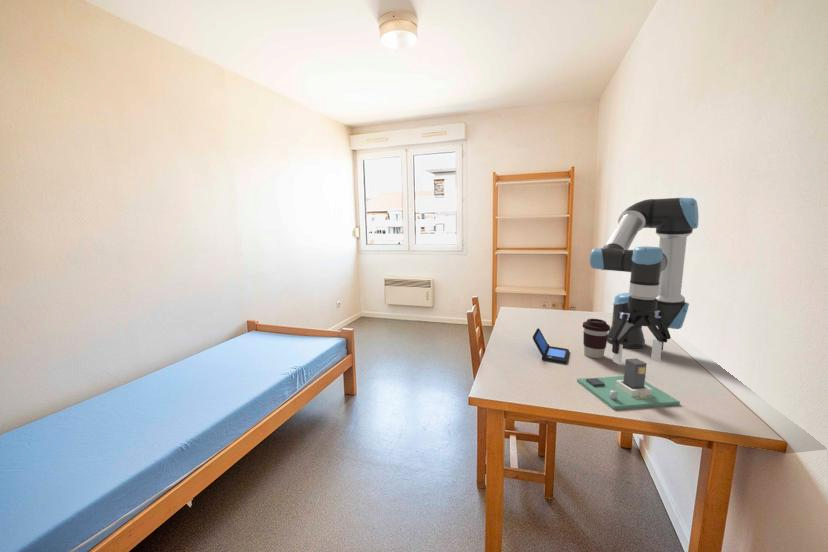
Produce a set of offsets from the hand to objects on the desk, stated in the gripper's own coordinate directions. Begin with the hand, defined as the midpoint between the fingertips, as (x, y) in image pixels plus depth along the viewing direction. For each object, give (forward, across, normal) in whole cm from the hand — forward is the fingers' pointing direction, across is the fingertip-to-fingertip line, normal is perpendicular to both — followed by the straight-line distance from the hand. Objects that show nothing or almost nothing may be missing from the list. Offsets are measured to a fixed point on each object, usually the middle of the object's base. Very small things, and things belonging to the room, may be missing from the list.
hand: (636, 361), depth 108 cm
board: (+11, +2, -1) cm, 11 cm away
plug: (+10, 0, 0) cm, 10 cm away
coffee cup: (+12, -8, -31) cm, 34 cm away
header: (+10, 0, +1) cm, 10 cm away
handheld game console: (+12, +10, -34) cm, 37 cm away
